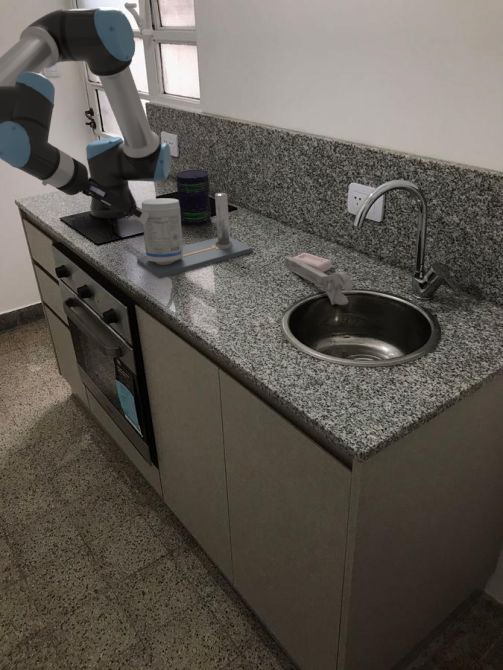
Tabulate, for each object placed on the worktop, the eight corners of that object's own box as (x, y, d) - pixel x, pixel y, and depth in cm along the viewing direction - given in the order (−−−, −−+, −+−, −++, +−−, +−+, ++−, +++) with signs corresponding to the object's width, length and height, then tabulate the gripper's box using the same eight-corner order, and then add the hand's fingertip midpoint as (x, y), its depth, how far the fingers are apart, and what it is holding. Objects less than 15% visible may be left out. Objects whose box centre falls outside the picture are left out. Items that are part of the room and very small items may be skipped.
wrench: (291, 276, 143) (353, 312, 117) (284, 277, 143) (345, 314, 117) (289, 246, 140) (353, 276, 114) (283, 247, 139) (345, 277, 114)
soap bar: (319, 275, 137) (319, 266, 135) (290, 266, 142) (290, 257, 141) (332, 268, 140) (332, 259, 139) (303, 260, 146) (303, 251, 144)
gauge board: (137, 262, 146) (136, 257, 146) (226, 239, 160) (226, 234, 159) (159, 278, 137) (159, 273, 136) (252, 251, 151) (252, 247, 150)
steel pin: (212, 244, 153) (208, 194, 146) (226, 241, 155) (223, 191, 148) (221, 249, 150) (218, 198, 143) (235, 245, 152) (233, 194, 145)
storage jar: (176, 219, 176) (171, 172, 169) (205, 215, 180) (202, 168, 172) (185, 228, 168) (181, 179, 161) (215, 224, 172) (213, 175, 164)
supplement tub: (150, 254, 148) (145, 198, 142) (185, 254, 148) (181, 197, 142) (142, 263, 139) (137, 203, 133) (180, 263, 138) (176, 203, 133)
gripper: (24, 170, 126) (91, 206, 144) (89, 207, 114) (154, 240, 132) (39, 140, 125) (104, 180, 144) (106, 174, 113) (169, 212, 131)
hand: (128, 209), depth 138 cm, fingers open, 13 cm apart
